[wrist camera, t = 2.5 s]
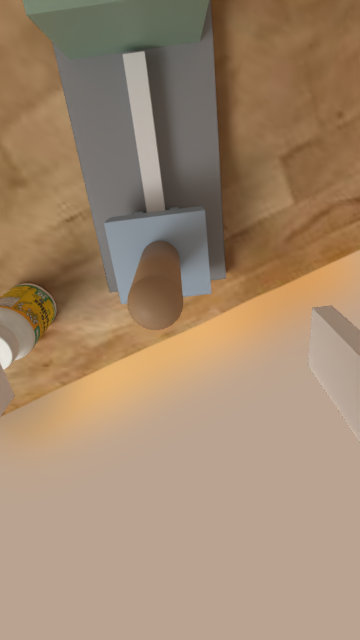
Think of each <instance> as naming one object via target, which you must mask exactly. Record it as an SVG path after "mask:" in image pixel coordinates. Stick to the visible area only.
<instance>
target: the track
mask: <svg viewBox="0 0 360 640" xmlns="http://www.w3.org/2000/svg"><path fill="white" fill-rule="evenodd" d="M23 3H24V7H25V11H26V15H27V16H28V17H29V18H30V19H31V20H32V21H33V22H34V23H35V24H36V25H37V26H38V28H39V29H40V30H41V31H42V32H43V33H44V34H45V35H46V36H47V37H48V38H49V39H50V40H51V41H52V43H53V47H54V51H55V56H56V60H57V64H58V69H59V73H60V78H61V82H62V86H63V91H64V95H65V99H66V104H67V108H68V112H69V117H70V121H71V126H72V130H73V134H74V139H75V143H76V147H77V152H78V156H79V160H80V165H81V169H82V174H83V178H84V182H85V187H86V191H87V195H88V200H89V204H90V208H91V213H92V217H93V222H94V226H95V230H96V235H97V239H98V243H99V248H100V252H101V256H102V261H103V265H104V270H105V274H106V278H107V283H108V287H109V291H110V292H117V291H118V287H117V282H116V277H115V273H114V268H113V263H112V259H111V254H110V250H109V245H108V240H107V236H106V231H105V226H104V222H105V221H107V220H108V219H109V218H110V217H116V216H124V215H132V214H134V213H135V212H139V211H144V213H148V212H156V211H164V210H170V208H171V207H178V208H179V209H180V208H188V207H196V206H202V207H203V208H204V210H205V218H206V231H207V244H208V257H209V270H210V280H219V279H226V271H225V253H224V234H223V216H222V197H221V178H220V160H219V141H218V123H217V104H216V86H215V67H214V49H213V30H212V11H211V0H23Z"/></svg>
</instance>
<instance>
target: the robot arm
mask: <svg viewBox="0 0 360 640" xmlns="http://www.w3.org/2000/svg"><path fill="white" fill-rule="evenodd" d="M308 366H309V367H310V369H311V370H312V372H313V373H314V375H315V376H316V378H317V379H318V381H319V382H320V384H321V385H322V387H323V388H324V390H325V391H326V393H327V394H328V396H329V397H330V399H331V400H332V402H333V403H334V405H335V406H336V408H337V409H338V411H339V412H340V414H341V415H342V417H343V418H344V420H345V421H346V423H347V424H348V426H349V427H350V428H351V430H352V431H353V433H354V435H355V436H356V438H357V439H358V441H359V442H360V330H359V329H358V328H357V327H355V326H354V325H353V324H352V323H351V322H350V321H349V320H348V319H346V318H345V317H344V316H343V315H342V314H341V313H340V312H338V311H337V310H336V309H335V308H334V307H333V306H323V307H314V308H312V319H311V333H310V346H309V359H308ZM14 396H15V395H14V393H13V391H12V389H11V386H10V384H9V382H8V379H7V377H6V375H5V373H4V370H3V368H2V366H1V364H0V416H1V415H2V413H3V412H4V410H5V409H6V408H7V406H8V405H9V403H10V402H11V400H12V399H13V397H14Z"/></svg>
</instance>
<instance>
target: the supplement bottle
mask: <svg viewBox="0 0 360 640" xmlns="http://www.w3.org/2000/svg"><path fill="white" fill-rule="evenodd" d="M56 312H57V309H56V303H55V301H54V299H53V297H52V296H51V295H50V294H49V293H48V292H47V291H46V290H45V289H43V288H42V287H40V286H38V285H35V284H30V283H24V284H19V285H16V286H14V287H13V288H11V289H10V290H9V291H7V292H6V293H5V294H4V295H3V296H1V297H0V364H1V366H2V368H3V370H4V369H6V368H7V367H8V366H10V365H11V363H12V362H13V361H14V360H18V359H21V358H23V357H24V356H26V355H27V354H28V353H29V352H30V351H31V350H32V349H33V348H34V346H35V345H36V343H37V342H38V340H39V339H40V338H41V336H42V335H43V334H44V332H45V331H46V330H47V328H48V327H49V326H50V324H51V323H52V321H53V320H54V318H55V316H56Z"/></svg>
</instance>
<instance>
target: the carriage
mask: <svg viewBox="0 0 360 640" xmlns="http://www.w3.org/2000/svg"><path fill="white" fill-rule="evenodd" d="M104 226H105V231H106V236H107V240H108V245H109V250H110V254H111V259H112V263H113V268H114V273H115V277H116V282H117V287H118V291H119V296H120V300H121V304H126V303H127V305H128V310H129V313H130V315H131V316H132V318H133V319H134V321H135V322H136V323H138V324H139V325H140V326H142V327H144V328H147V329H151V330H160V329H164V328H167V327H169V326H171V325H172V324H173V323H174V322H175V321H176V320H177V319H178V318H179V316H180V314H181V312H182V308H183V297H186V296H195V295H203V294H211V283H210V270H209V257H208V244H207V231H206V218H205V210H204V208H203V207H202V206H196V207H188V208H180V209H179V208H178V207H171V208H170V210H164V211H156V212H148V213H144V211H139V212H135V213H134V214H132V215H124V216H116V217H110V218H109V219H108V220H107V221H105V222H104Z"/></svg>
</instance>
